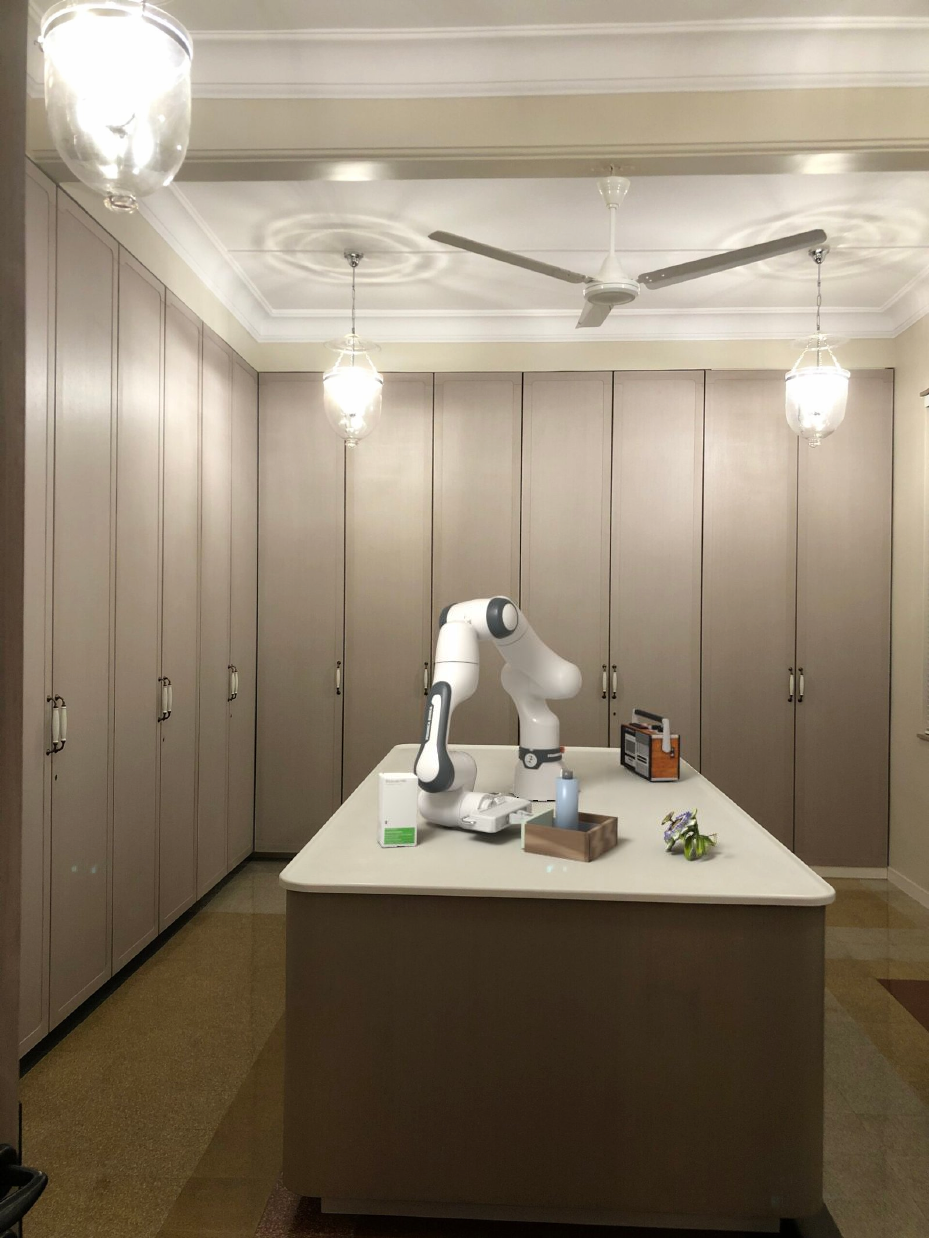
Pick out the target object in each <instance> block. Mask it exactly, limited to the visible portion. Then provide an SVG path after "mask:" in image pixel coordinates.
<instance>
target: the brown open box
mask: <svg viewBox="0 0 929 1238" xmlns="http://www.w3.org/2000/svg"><path fill="white" fill-rule="evenodd" d="M554 813H555V815H554V816H555V817H554V818H556V810H555V811H554ZM578 821H581V822H588V823H595V824H600V825H598V826H596V827H595V828H593V829H591V830H589V831H588V832H581V831H574V830H567V829H561V828H554V827H547V826H541V825H534V824H527V823H526V824H525V834H524V848H523V850H524V851H525V852H524V853H529V854H530V853H531V854H535V853H536V855H541V854H542V855H543V856H547V855H549V857H554V858H559V859H560V858H561V859H565V858H566V860H571V859H573V860H572V861H577V862H578V861H579V862H582V863H583V862H585V863H591V860H592V861H593V860H595V859H596V858H598V857H600V854H601V855H602V854H604V853H606V852H607V851H608V850H610V849H611V848H614V847H615V845H618V841H619V840H618V829H619V823H618V822H619V817H618V816H611V815H606V814H605V815H604V814H599V813H598V814H597V813H589V812H582V811H578ZM609 848H610V849H609ZM594 858H595V859H594Z"/></svg>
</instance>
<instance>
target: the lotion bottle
mask: <svg viewBox="0 0 929 1238" xmlns="http://www.w3.org/2000/svg"><path fill="white" fill-rule="evenodd" d="M579 781H580V779H579V778H578V777H576V776H575V777H574V771H572V770H570V771H562V777H557V778H556V800H555V811H556V828H561V829H567V830H574V831H578V812H579V795H580V794H579V792H580V791H579V789H580V787H579V785H580V782H579Z"/></svg>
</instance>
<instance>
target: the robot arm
mask: <svg viewBox="0 0 929 1238" xmlns="http://www.w3.org/2000/svg"><path fill="white" fill-rule="evenodd" d="M438 628H439V633H438V637H437V643H436V649H435V657H434V658H435V659H434V660H435V662H434V675H433V682H432V685H431V687H430V689H429V692H428V695H427V699H426V706H425V711H424V720H423V727H422V734H421V740H420V741H421V742H420V747H419V750H418V752H417V755H416V757H415V761H414V764H413V774H415V775H416V776H417V777H418V788H420V789H421V790H420V791H419V792H418V808H417V811H418V813H419V814H420V816H421V818H423V819H424V820H426V822H430V823H432V824H436V825H441V826H446V827H460V828H462V829H465V830H471V831H477V832H484V833H491V834H492V833H497V832H499V831H502V830H503V829H505V828H508V827H510V826H512V825H521V821H522V820H524V819H526V818H529V817H531V816H533V815H535V813H533V812H532V810H533V807H532V805H533V803H532V801H533V800H538V801H537V802H548V801H547V800H555V801H556V778H557V777H562V771H571V769H570V768H569V767H568V766H567V765H566V763H565V762H564V761H563V760H562V759H563V755H562V754H565V752H566V751H565V750H566V747H565V746H564V745H562V746H560V720H559V718H558V716H557V715H556V714H555V713H553V711H552V710H550V708H549V706H548V704H547V701H546V700H547V699H548V700H557V701H558V700H564V699H566V700H567V699H572V698H575V696H577V695H578V693H579V692H580V690H581V687H582V683H583V677H582V674H581V671H580V668H579V667H578V666H577V665H576V664H574V663H571V662H569V661H567V660H565V659H564V658H562V657H561V656H560V655H558V654H557V653H556V652H554V651H553V650H552V649H551V648H550V647H548V646H547V644H545V643H544V642H543V641H542V640H541V639H540V638H539V636H538V635H537V634H536V632H535V630H534V628H533V627H532V625H531V624H530V623H529V621H528V620H527V618H526V616H525V615H524V613H523V612H522V610H521V609H520V608H519V607H518V606H517V605H516V604H515V603H514V602H513V601H512V600H511V599H510V598H509V597H507V596H505V595H496V596H492V597H490V598H476V599H475V598H474V599H472V600H467V601H461V602H454V603H451V604H449V605H447V606H445V607H444V608H443V609H442V611H441V613H440V615H439V617H438ZM487 641H492V643H493V645H494V646H495V648H496V649H497V650H498V651H499V653H500V655H501V656H502V658H503V659H504V661H505V664H504V665H503V667H502V669H501V672H500V683H501V685H502V688H503V689H504V690H505V691H506V693H508V695H510V697H511V698H512V701H513V702H514V704H515V707H516V710H517V713H518V718H519V730H520V731H519V732H520V737H519V738H520V739H519V740H520V741H519V742H520V745H519V746H518V753H517V754H518V759H519V760H518V762H516V764H515V765H514V772H513V782H512V784H513V785H512V788H509V791H508V793H509V792H511V793H513V794H514V795H513V794H512V795H513V796H509V795H503V794H502V792H497V791H495V792H478V791H474V789H475V784H476V780H477V775H478V774H477V773H478V768H477V763H476V761H475V759H474V758H473V756H472V755H470V754H469V752H465V751H462V750H461V751H459V750H449V747H448V743H449V735H450V734H449V733H450V727H451V718H452V715H453V712H454V710H455V709H456V707H457V706H458V705H459V704H461V702H464V701H465V700H468V699H469V698H470V697H471V696H472V695H473V694H474V693H475V692H476V690H477V688H478V684H479V680H480V679H479V677H480V647H479V643H481V642H487ZM580 789H581V788H579V790H580ZM511 793H510V794H511ZM515 796H516V797H515ZM517 797H519V798H517ZM525 799H526V800H525Z"/></svg>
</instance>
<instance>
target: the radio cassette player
mask: <svg viewBox="0 0 929 1238" xmlns="http://www.w3.org/2000/svg"><path fill="white" fill-rule="evenodd" d="M638 716H640V717H642V718H644V719H648V720H651V721H654V722H658V723H660V724H663V727H662V725H660V724H659V725H658V724H650V723H648V722H646V723H645V722H642V723H639V718H638ZM619 743H620V744H619V745H620V749H619V750H620V753H619V754H620V756H619V757H620V758H619V761H620V762H619V764H620V766H623V767H624V768H625V769H626V768H627V770H629V771H631V772H633V773H635V774H636V775H638V776H640V777H642V778H644V779H646V780H648V781H649V782H650V783H653V782H670V781H678V780H679V781H680V777H681V735H680V734H678V733H675V732H672V731H670V720H669V718H666V717H663V716H661V715H657V714H654V713H652V712H647V711H646V710H642V709H639V708H633V709H632V716H631V722H629V723H622V724H620V742H619Z"/></svg>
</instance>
